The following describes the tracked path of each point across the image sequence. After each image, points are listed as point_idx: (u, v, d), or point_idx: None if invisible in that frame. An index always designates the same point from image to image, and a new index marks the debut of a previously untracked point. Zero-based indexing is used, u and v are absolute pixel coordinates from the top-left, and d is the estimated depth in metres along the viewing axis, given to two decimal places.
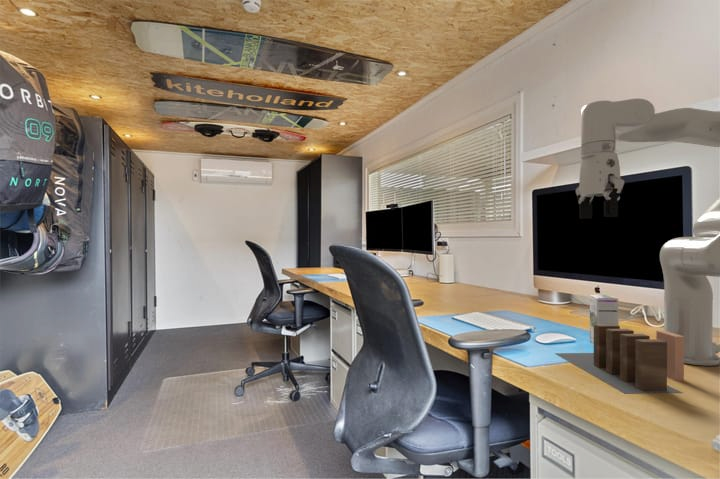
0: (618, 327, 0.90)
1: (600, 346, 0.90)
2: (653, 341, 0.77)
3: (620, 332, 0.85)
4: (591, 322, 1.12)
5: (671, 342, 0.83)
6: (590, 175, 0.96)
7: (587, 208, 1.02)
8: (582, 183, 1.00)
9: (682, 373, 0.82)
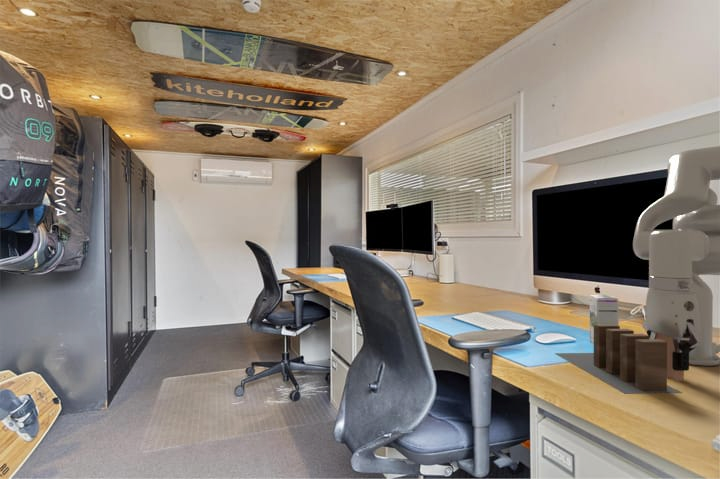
0: (618, 327, 0.90)
1: (600, 346, 0.90)
2: (653, 341, 0.77)
3: (620, 332, 0.85)
4: (591, 322, 1.12)
5: (671, 342, 0.83)
6: (662, 313, 0.84)
7: None
8: (649, 317, 0.87)
9: (682, 373, 0.82)
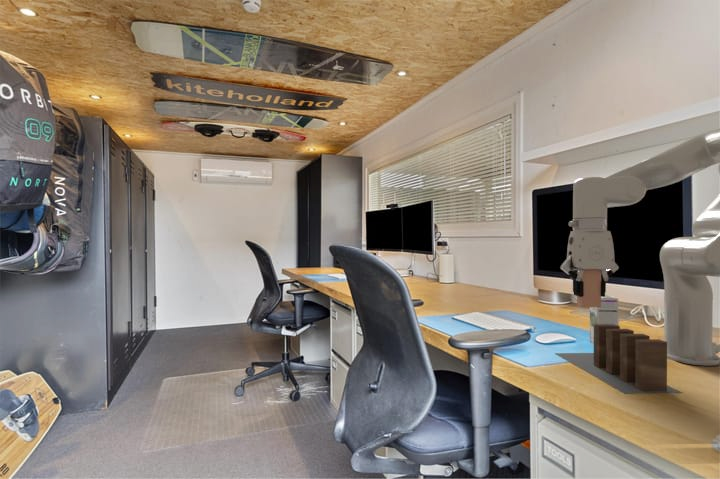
0: (618, 327, 0.90)
1: (600, 346, 0.90)
2: (653, 341, 0.77)
3: (620, 332, 0.85)
4: (591, 322, 1.12)
5: None
6: None
7: None
8: None
9: (581, 299, 0.97)
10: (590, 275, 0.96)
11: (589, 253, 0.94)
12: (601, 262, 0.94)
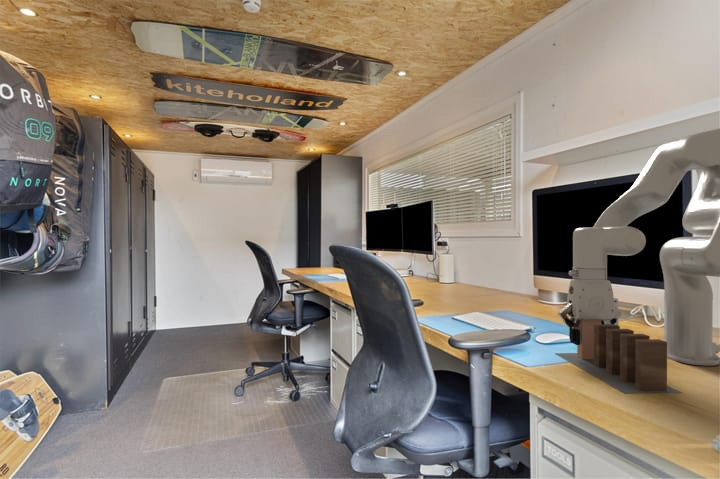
0: (618, 327, 0.90)
1: (600, 346, 0.90)
2: (653, 341, 0.77)
3: (620, 332, 0.85)
4: None
5: None
6: None
7: None
8: None
9: (581, 351, 0.97)
10: (590, 327, 0.96)
11: (589, 304, 0.95)
12: (601, 313, 0.95)
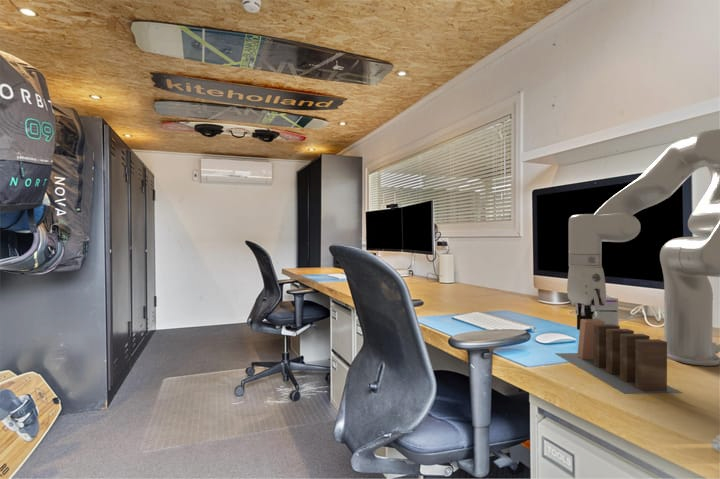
0: (618, 327, 0.90)
1: (600, 346, 0.90)
2: (653, 341, 0.77)
3: (620, 332, 0.85)
4: None
5: None
6: (577, 285, 0.99)
7: None
8: (570, 289, 1.02)
9: (582, 351, 0.96)
10: (592, 328, 0.95)
11: None
12: None
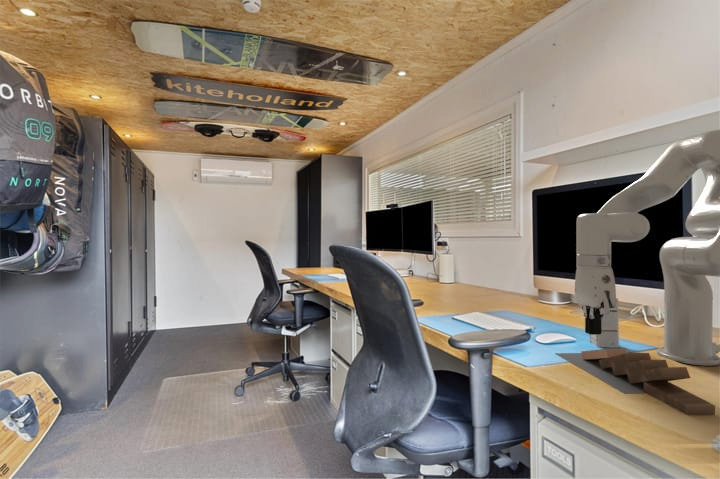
0: None
1: (616, 365, 0.84)
2: None
3: None
4: None
5: None
6: (585, 286, 0.95)
7: None
8: (577, 291, 0.99)
9: (587, 358, 0.94)
10: None
11: None
12: None
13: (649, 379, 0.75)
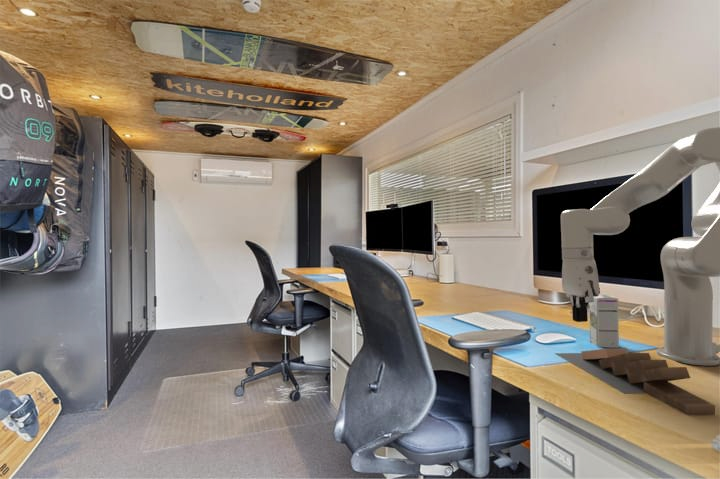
0: None
1: (616, 365, 0.84)
2: None
3: None
4: (591, 322, 1.12)
5: None
6: (571, 277, 1.02)
7: None
8: (564, 282, 1.06)
9: (587, 358, 0.94)
10: None
11: None
12: None
13: (649, 379, 0.75)
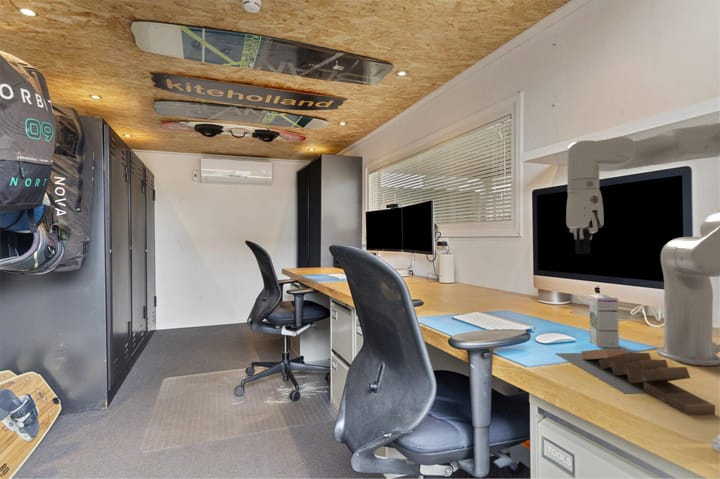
0: None
1: (616, 365, 0.84)
2: None
3: None
4: (591, 322, 1.12)
5: None
6: (575, 209, 1.02)
7: None
8: (568, 216, 1.06)
9: (587, 358, 0.94)
10: None
11: None
12: None
13: (649, 379, 0.75)
